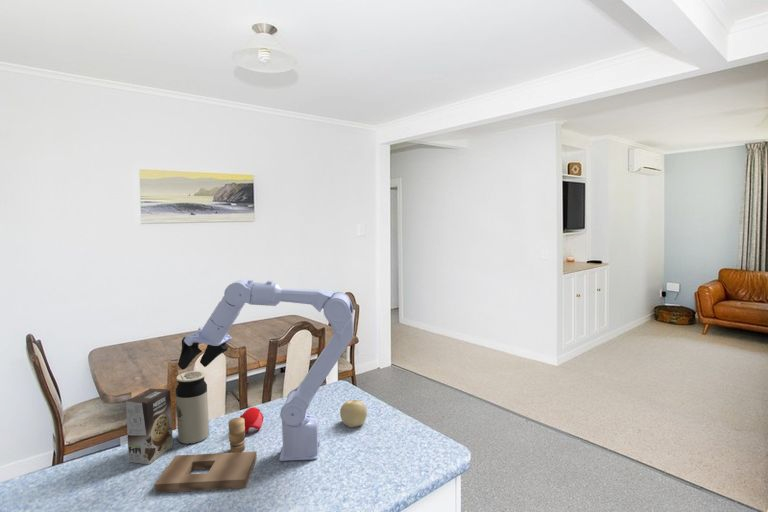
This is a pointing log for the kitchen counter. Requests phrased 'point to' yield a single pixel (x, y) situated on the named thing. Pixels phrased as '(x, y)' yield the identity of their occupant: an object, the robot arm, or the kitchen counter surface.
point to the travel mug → (192, 407)
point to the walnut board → (222, 475)
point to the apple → (353, 413)
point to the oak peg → (237, 435)
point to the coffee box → (149, 425)
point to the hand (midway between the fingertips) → (192, 365)
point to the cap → (252, 418)
